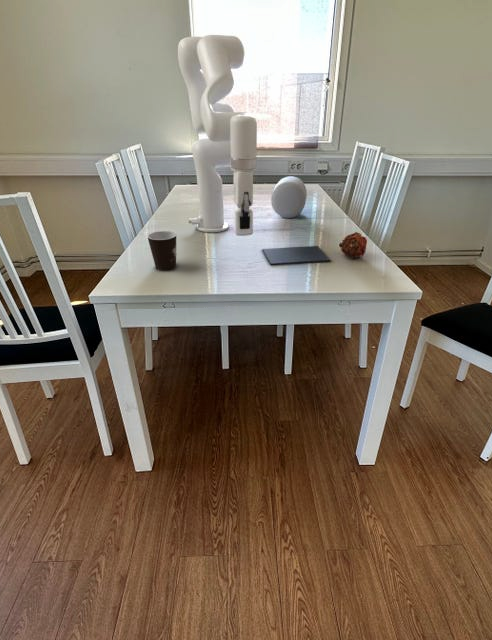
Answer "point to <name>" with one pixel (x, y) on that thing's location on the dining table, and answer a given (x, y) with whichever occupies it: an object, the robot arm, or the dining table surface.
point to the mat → (295, 255)
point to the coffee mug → (163, 249)
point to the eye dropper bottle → (237, 224)
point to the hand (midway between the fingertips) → (243, 226)
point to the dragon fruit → (354, 245)
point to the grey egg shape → (289, 197)
